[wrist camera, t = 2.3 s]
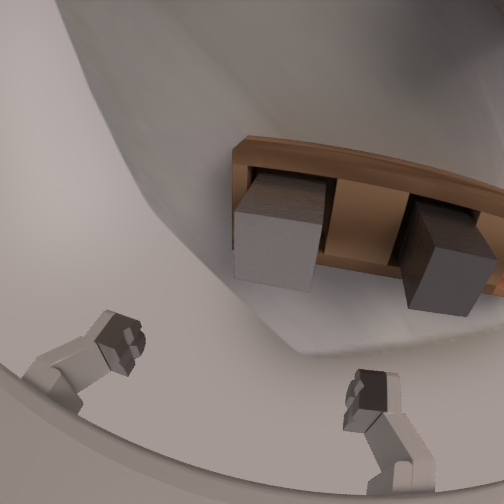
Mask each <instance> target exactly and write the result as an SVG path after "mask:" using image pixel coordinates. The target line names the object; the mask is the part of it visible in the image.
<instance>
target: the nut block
mask: <svg viewBox="0 0 504 504" xmlns="http://www.w3.org/2000/svg"><path fill="white" fill-rule="evenodd" d="M326 180H327V177H326V176H320V175H313V174H307V173H300V172H293V171H286V170H279V169H271V168H262V170H261V171H260V173H259V174H258V176H257V177H256V179H255V180H254V182H253V183H252V185H251V186H250V188H249V189H248V191H247V193H246V194H245V196H244V197H243V199H242V200H241V202H240V203H239V205H238V207H237V208H236V210H235V211H234V278H235V279H240V280H245V281H250V282H255V283H261V284H266V285H271V286H277V287H282V288H288V289H293V290H299V291H304V292H310V287H311V282H312V277H313V272H314V267H315V262H316V257H317V252H318V247H319V241H320V236H321V230H322V224H323V214H324V204H325V192H326Z"/></svg>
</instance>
